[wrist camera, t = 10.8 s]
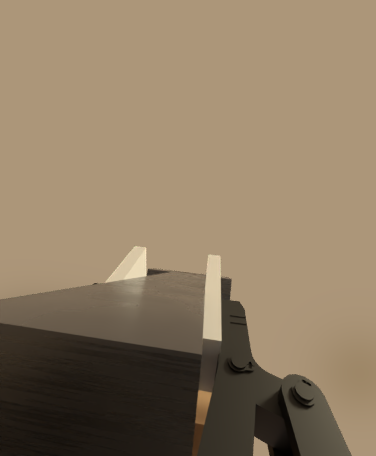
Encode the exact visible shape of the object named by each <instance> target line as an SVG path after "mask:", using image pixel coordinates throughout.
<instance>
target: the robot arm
mask: <svg viewBox="0 0 376 456" xmlns="http://www.w3.org/2000/svg"><path fill="white" fill-rule="evenodd" d="M220 268H221V263H220V256H216V255H208V262H207V273H206V282H205V302H204V323H203V343H202V359H201V369H200V379H199V389H198V390H200V391H206V392H212V394H211V398H210V403H209V407H208V411H207V415H206V420H205V424H204V428H203V432H202V436H201V441H200V445H199V449H198V453H197V456H253V444H254V436H255V437H256V438H258V439H260V440H261V441H263V442H265V443H267V444H268V450H269V455H270V456H351V453H350V451H349V449H348V447H347V445H346V442H345V440H344V438H343V436H342V434H341V431H340V429H339V427H338V425H337V423H336V420H335V418H334V416H333V414H332V412H331V409H330V407H329V405H328V403H327V401H326V399H325V396H324V395H323V393H322V392H321V390H320V389H319V388H318V387H317V386H316V385H315V384H314V383H313V382H312V381H310V380H309V379H307V378H305V377H303V376H300V375H296V374H294V375H293V374H292V375H288V376H286V377H285V378H284V379H280V378H278V377H276V376H274V375H272V374H270V373H268V372H266V371H265V370H263V369H262V368H261V367H260V366H259V365H258V364H257V363H256V362H255V360H254V359H253V357H252V353H251V349H250V342H249V336H248V329H247V323H246V316H245V310H244V308H243V306H242V305H241V304H240V302H238V301H231V300H223V299H221V269H220ZM144 276H146V247H137V246H135V247H134V248H133V249H132V251H131V252H130V253H129V254H128V255H127V256H126V258H125V259H124V260H123V261H122V262H121V264H120V265H119V266H118V268H117V269H116V270H115V271H114V272H113V273H112V275H111V276H110V277H109V278H108V279H107V281H106V282H105V283H107V282H113V281H119V280H125V279H132V278H138V277H144ZM94 284H97V283H94ZM94 284H93V285H94Z"/></svg>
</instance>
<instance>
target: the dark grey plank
mask: <svg viewBox="0 0 376 456" xmlns="http://www.w3.org/2000/svg"><path fill="white" fill-rule="evenodd" d="M205 282H206V275H204V274H195V273H187V272H179V271H171V270H163V269H148V273H147V276H144V277H138V278H132V279H125V280H119V281H113V282H107V283H100V284H94V285H88V286H82V287H76V288H69V289H63V290H57V291H51V292H45V293H39V294H32V295H26V296H20V297H14V298H8V299H1V300H0V456H192V450H193V440H194V430H195V420H196V409H197V399H198V389H199V379H200V369H201V359H202V343H203V323H204V302H205ZM230 291H231V279H230V278H228V277H221V299H223V300H230Z"/></svg>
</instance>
